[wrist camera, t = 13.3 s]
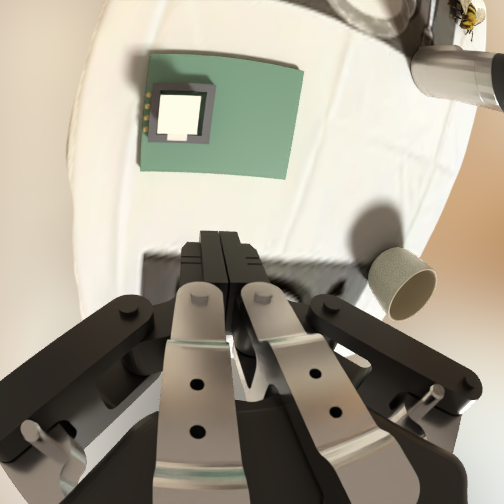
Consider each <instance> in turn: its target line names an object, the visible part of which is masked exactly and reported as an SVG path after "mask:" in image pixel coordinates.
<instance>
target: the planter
mask: <svg viewBox="0 0 504 504" xmlns="http://www.w3.org/2000/svg"><path fill="white" fill-rule="evenodd" d="M368 283H369V287H370V289H371V291H372V293H373V294H374V296H375V298H376V299H377V301H378V302H379V304H380V306H381V307H382V309H383V310H384V312H385V313H386V314H387V316H388V317H389V318H390V319H391V320H392V321H395V322H400V321H404V320H407V319H409V318H411V317H412V316H414V315H415V314H416V313H418V312H419V311H420V310H421V309H422V308H423V307H424V306H425V305H426V304H427V302H428V301H429V299H430V298H431V297H432V295H433V293H434V291H435V288H436V285H437V273H436V272H435V270H434V269H433V268H431V267H430V266H429V265H428V264H427V263H425V262H424V261H423V260H421V259H420V258H419V257H417V256H416V255H414V254H413V253H411V252H410V251H408V250H406V249H404V248H400V247H394V248H390V249H388V250H385V251H384V252H382V253H381V254H380V255H379V256H378V257H377V258H376V259H375V260H374V262H373V263H372V265H371V268H370V270H369V274H368Z"/></svg>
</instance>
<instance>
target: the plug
mask: <svg viewBox="0 0 504 504" xmlns="http://www.w3.org/2000/svg"><path fill="white" fill-rule="evenodd" d="M200 102H201V96H187V95H161V97H160V106H159V117H158V129H157V134H168V136H167V140H172V141H187V134H195V135H197V128H198V119H199V110H200Z"/></svg>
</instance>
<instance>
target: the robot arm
mask: <svg viewBox="0 0 504 504" xmlns="http://www.w3.org/2000/svg"><path fill="white" fill-rule="evenodd" d="M411 72H412V76H413V79H414V82H415V84H416V86H417V87H418V89H419V90H420V91H421V92H422V93H423V94H425V95H427V96H429V97H435V98H442V99H447V100H453V101H458V102H463V103H468V104H472V105H476V106H481V107H485V108H488V109H492V110H496V111H499V112H503V113H504V54H501V53H492V52H482V51H468V50H463V49H462V48H461V47H459V46H457V45H433V46H419V49H418V51H417V52H416V53H415V54H414V56H413V58H412V61H411ZM259 258H260V257H259V255H258V253H257V250H256V249H254V248H253V247H252V246H251V245H250V244H241V243H240V240H239V237H238V234H237V232H228V231H219V233H218V231H200V238H199V242H187V243H186V244H185V245H184V246H183V247H182V250H181V270H180V289H179V290H178V292H177V295H176V296H175V297H174V298H173V299H171V300H170V301H168V302H165V303H162V304H157V305H153V306H152V304H151V303H150V301H149V300H147V299H146V298H144V297H142V296H139V295H123V296H120V297H117V298H116V299H114V300H112V301H111V302H109V303H108V304H106V305H105V306H103V307H102V308H100V309H99V310H98V311H96V312H95V313H93V314H92V315H90V316H89V317H87V318H86V319H84V320H83V321H82V322H80V323H79V324H77V325H76V326H74V327H73V328H72V329H70V330H69V331H68V332H66V333H65V334H63V335H62V336H60V337H59V338H57V339H56V340H55V341H53V342H52V343H50V344H49V345H48V346H46V347H45V348H44V349H42V350H41V351H39V352H38V353H37V354H35V355H34V356H33V357H32V358H30V359H29V360H27V361H26V362H25V363H23V364H22V365H21V366H19V367H18V368H17V369H15V370H14V371H13V372H11V373H10V374H9V375H7V376H6V377H5V378H4V379H2V380H1V381H0V464H1V466H2V467H3V469H4V470H5V472H6V473H7V475H8V476H9V478H10V479H11V481H12V482H13V484H14V485H15V487H16V488H17V489H18V491H19V492H20V493H21V495H22V496H23V497H24V499H25V500H26V501H27V502H28V504H468V501H467V474H466V471H465V468H464V466H463V464H462V463H461V461H460V460H459V459H458V458H457V457H456V456H455V455H454V454H453V450H454V446H455V442H456V438H457V434H458V430H459V425H460V420H461V416H462V414H463V413H464V412H465V411H466V410H467V409H468V408H469V407H470V406H472V405H473V404H474V403H475V402H476V401H477V400H478V399H479V398H480V396H481V395H482V384H481V381H480V379H479V378H478V376H477V375H476V374H475V373H474V372H473V371H472V370H470V369H468V368H466V367H465V366H463V365H461V364H459V363H457V362H455V361H453V360H452V359H450V358H448V357H446V356H444V355H443V354H441V353H439V352H437V351H435V350H434V349H432V348H430V347H428V346H426V345H424V344H423V343H421V342H419V341H417V340H415V339H413V338H412V337H410V336H408V335H406V334H404V333H402V332H401V331H399V330H397V329H395V328H393V327H391V326H390V325H388V324H386V323H384V322H382V321H380V320H379V319H377V318H375V317H373V316H371V315H370V314H368V313H366V312H364V311H362V310H360V309H359V308H357V307H355V306H353V305H351V304H349V303H348V302H346V301H344V300H342V299H340V298H338V297H336V296H333V295H328V294H320V295H317V296H315V297H313V298H312V300H311V302H310V305H307V304H302V303H296V302H292V301H289V300H287V298H286V297H285V295H284V293H283V292H282V291H281V290H280V289H279V288H278V287H276V286H274V285H272V284H270V281H269V279H268V277H267V274H266V272H265V269H264V267H263V265H262V262H261V260H260V259H259ZM226 335H233V340H234V343H233V356H234V359H235V362H236V366H237V369H238V372H239V375H240V379H241V382H242V385H243V388H244V391H245V395H246V401H240V400H235V398H234V388H233V378H232V367H231V356H230V347H229V343H228V342H226ZM337 343H339V344H340V345H342V346H344V347H346V348H347V349H349V350H351V351H352V352H354V353H356V354H358V355H359V356H361V357H363V358H365V359H366V360H368V361H369V362H370V364H371V366H370V367H368V368H362V367H360V366H358V365H357V364H355V363H353V362H351V361H350V360H348V359H346V358H345V357H343V356H341V355H340V354H338V353H336V352H335V351H334V349H335V347H336V345H337ZM162 371H163V374H162V384H161V395H160V405H159V411H156V412H154V413H152V414H150V415H148V416H146V417H145V418H143V419H141V420H140V421H139V422H137V423H136V424H135V425H134V426H133V427H132V428H131V429H130V430H129V431H128V432H127V433H126V434H125V435H124V436H123V437H122V438H121V440H120V441H119V442H118V443H117V444H116V445H115V446H114V447H113V448H112V449H111V450H110V451H109V452H108V453H107V454H106V456H105V457H104V458H103V459H102V460H101V461H100V462H99V463H98V464H97V465H96V466H95V467H94V468H93V469H92V470H91V471H90V472H89V473H88V475H86V477H85V478H84V479H83V480H82V481H81V482H80V483H79V484H78V481H79V478H80V477H81V475H82V474H83V473H84V471H85V468H86V464H87V460H86V455H85V452H84V449H85V447H87V446H88V445H89V444H90V443H91V442H92V441H93V440H94V439H95V438H96V437H97V436H98V435H100V433H102V432H103V431H104V430H105V429H106V428H107V427H108V426H109V425H110V424H111V423H112V422H113V421H114V420H115V419H116V418H117V417H118V416H119V415H120V414H121V413H122V412H124V411H125V410H126V409H127V408H128V407H129V406H130V405H131V404H132V403H133V402H134V401H135V400H136V399H137V398H138V397H139V396H140V395H141V394H142V393H143V392H144V391H145V390H146V389H147V388H148V387H149V386H150V385H151V384H152V383H153V382H154V381H155V380H156V379H157V378H158V377H159V376H160V374H161V372H162Z"/></svg>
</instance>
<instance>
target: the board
mask: <svg viewBox="0 0 504 504" xmlns="http://www.w3.org/2000/svg"><path fill="white" fill-rule="evenodd" d="M303 75H304V71H301V70H297V69H293V68H288V67H284V66H279V65H274V64H269V63H263V62H257V61H251V60H244V59H237V58H229V57H220V56H208V55H192V54H151V56H150V62H149V69H148V76H147V83H146V91H145V101H144V111H143V123H142V138H141V162H140V171H161V172H193V173H213V174H228V175H242V176H254V177H264V178H274V179H283V180H285V178H286V173H287V168H288V162H289V157H290V151H291V145H292V140H293V134H294V128H295V123H296V117H297V111H298V105H299V99H300V93H301V87H302V81H303ZM161 95H187V96H201V102H200V110H199V119H198V128H197V135H195V134H187V141H172V140H167V136H168V134H157V129H158V117H159V106H160V97H161Z"/></svg>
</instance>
